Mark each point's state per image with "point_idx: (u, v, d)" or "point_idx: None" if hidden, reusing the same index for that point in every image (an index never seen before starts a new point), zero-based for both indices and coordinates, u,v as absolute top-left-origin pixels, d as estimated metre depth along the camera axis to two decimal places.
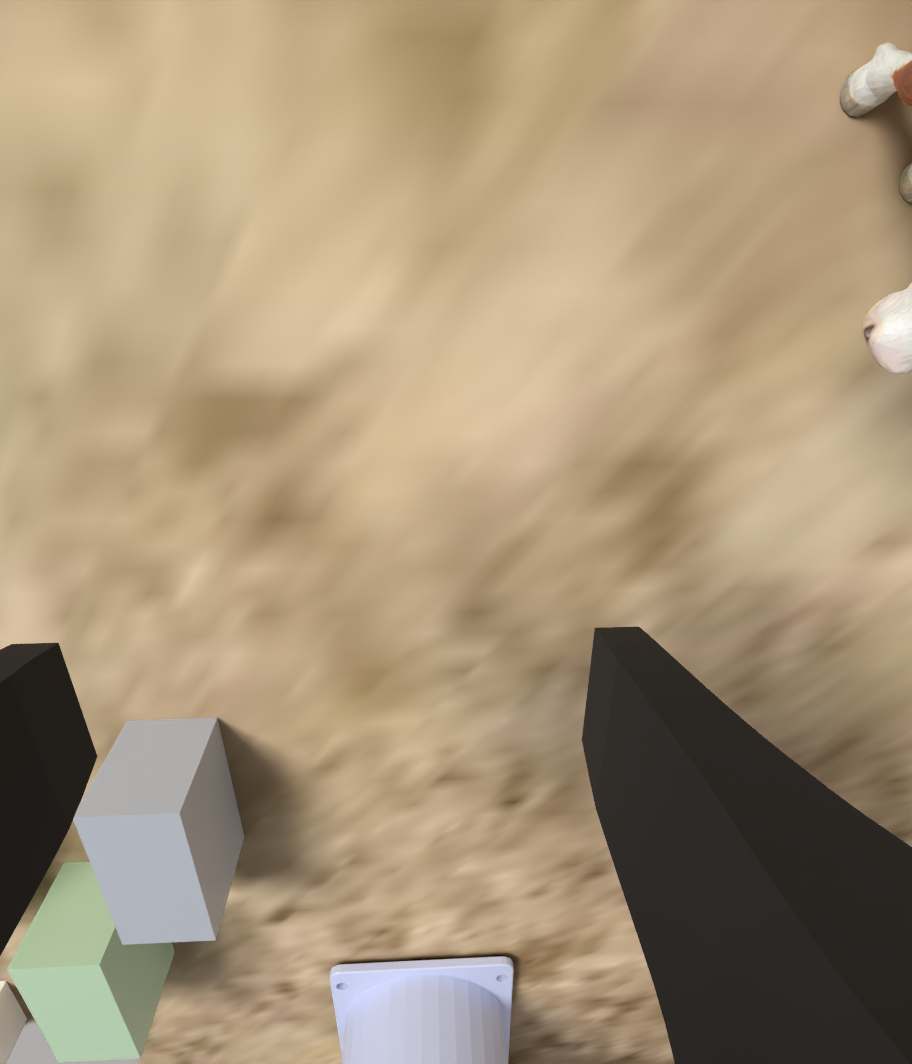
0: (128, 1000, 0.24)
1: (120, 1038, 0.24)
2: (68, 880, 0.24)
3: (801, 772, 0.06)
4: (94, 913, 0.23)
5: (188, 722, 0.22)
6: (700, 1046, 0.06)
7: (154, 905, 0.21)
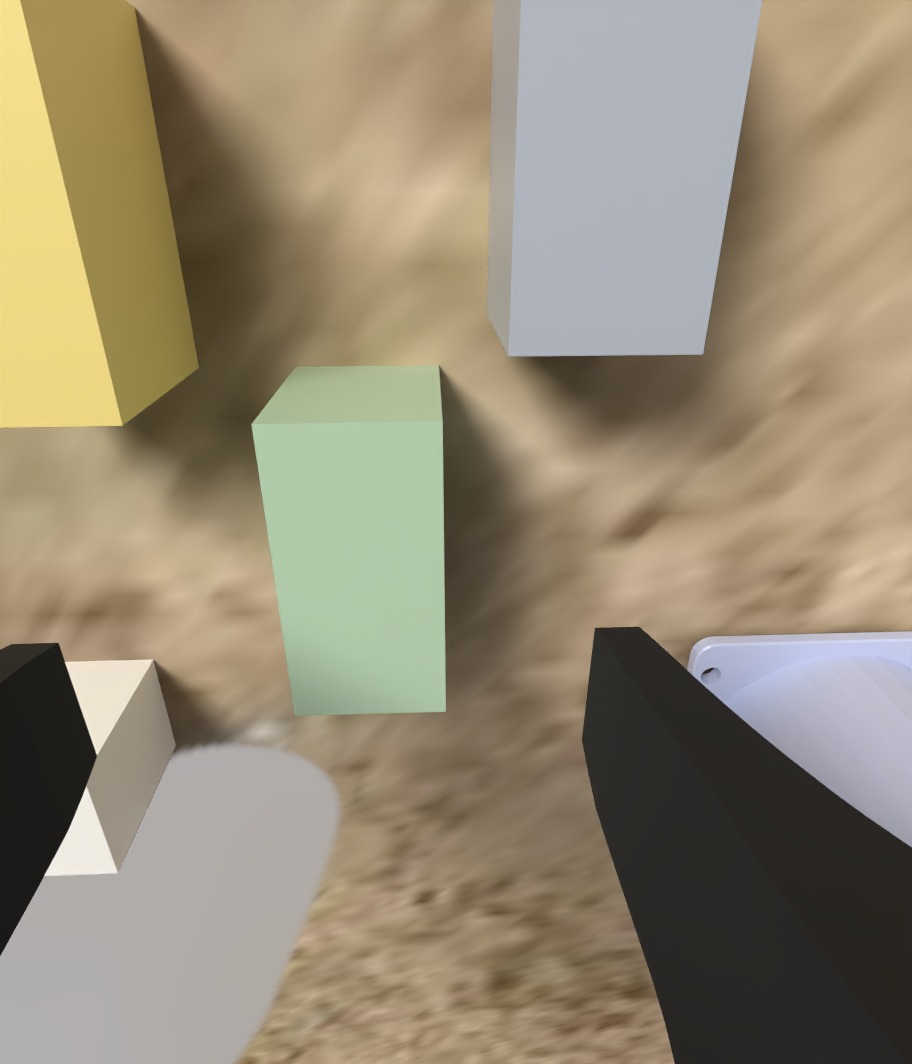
0: None
1: (424, 654, 0.12)
2: (316, 374, 0.13)
3: (801, 772, 0.06)
4: (389, 391, 0.12)
5: None
6: (700, 1046, 0.06)
7: (615, 214, 0.09)
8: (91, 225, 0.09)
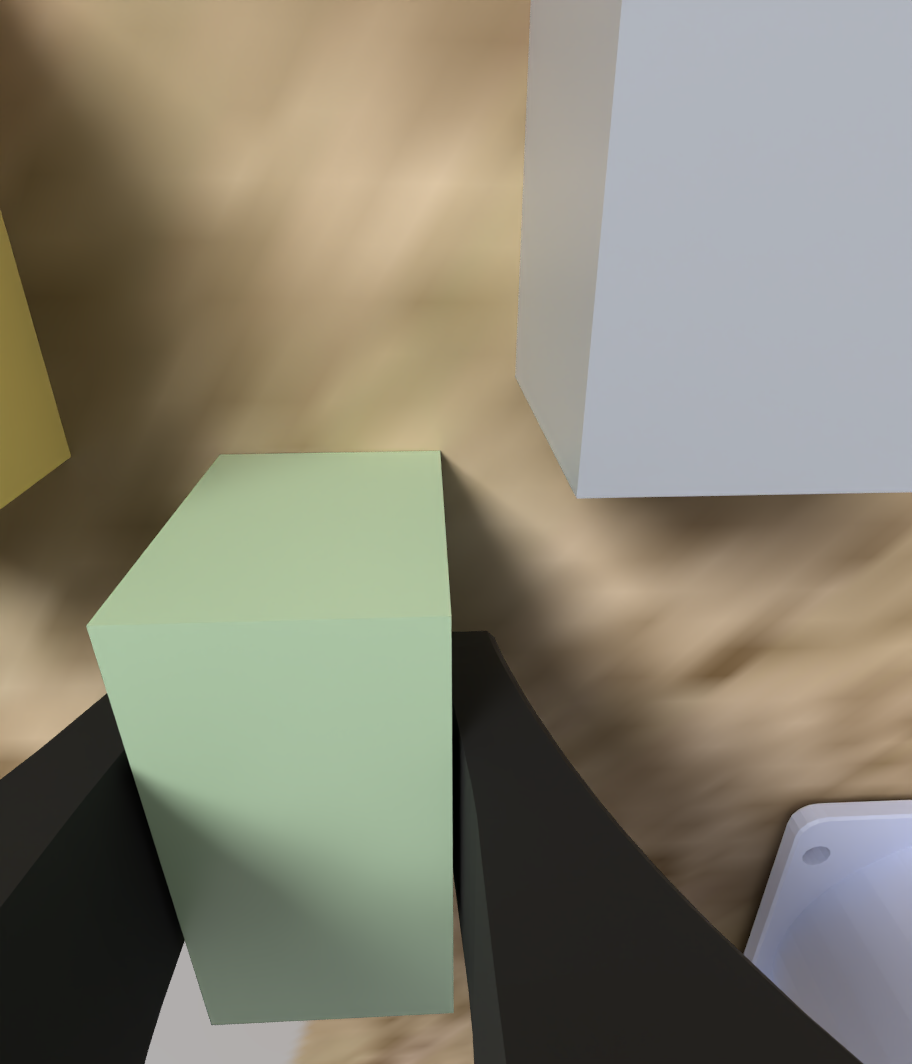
0: None
1: (418, 945, 0.08)
2: (244, 477, 0.08)
3: (572, 781, 0.06)
4: (359, 523, 0.07)
5: None
6: (477, 1058, 0.06)
7: (815, 226, 0.04)
8: None
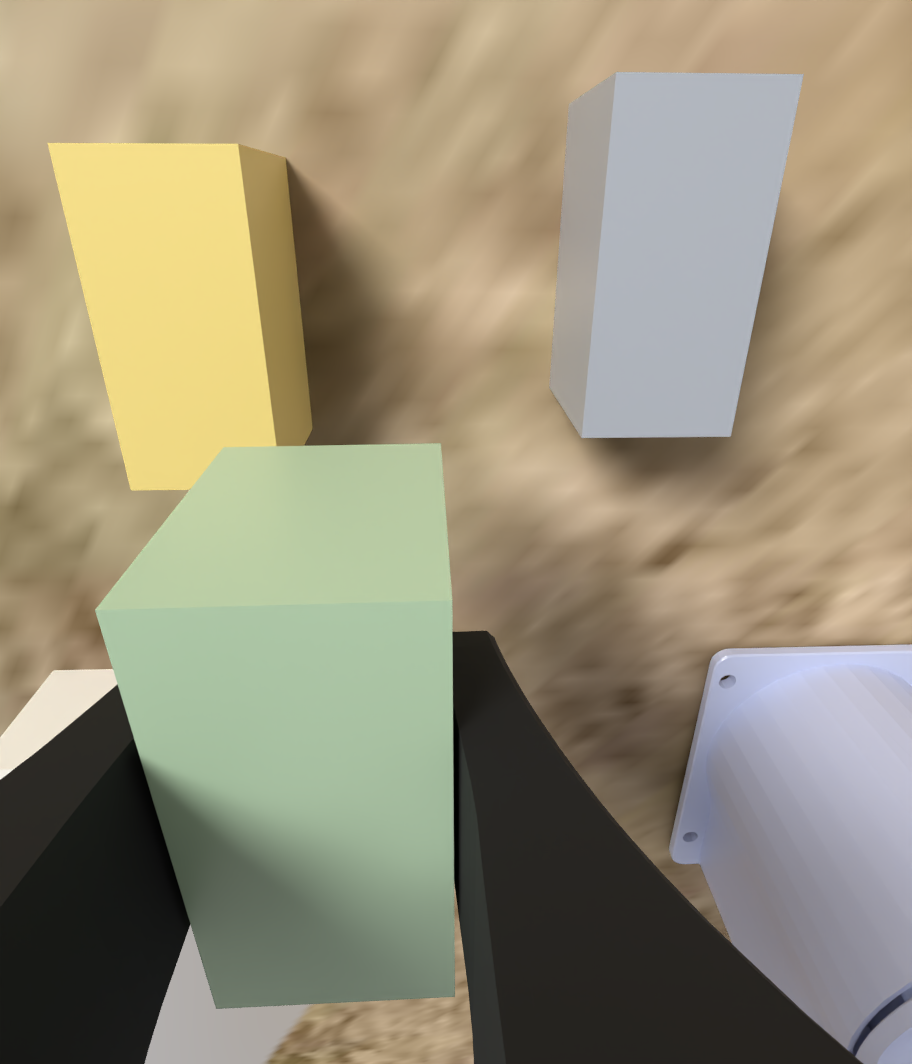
0: None
1: (421, 929, 0.08)
2: (248, 469, 0.08)
3: (572, 781, 0.06)
4: (360, 512, 0.07)
5: None
6: (477, 1058, 0.06)
7: (667, 336, 0.12)
8: (270, 340, 0.12)
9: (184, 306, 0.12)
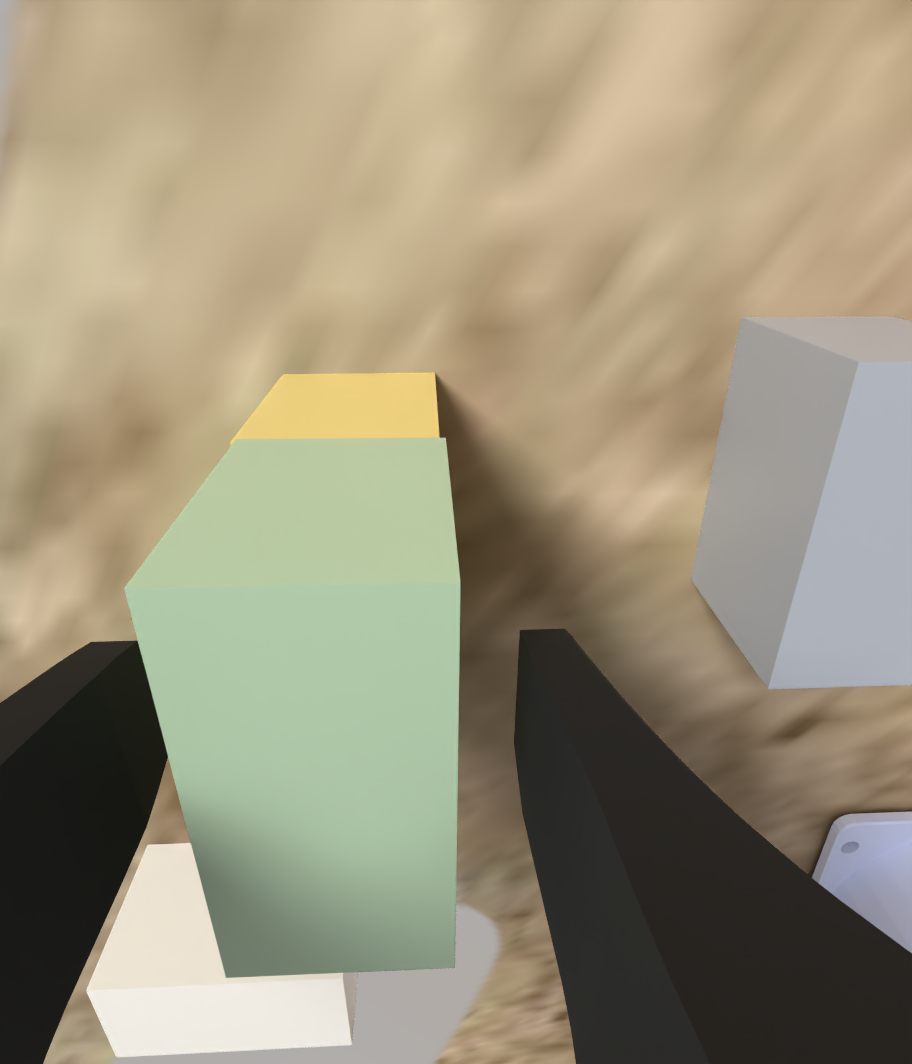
0: None
1: (424, 901, 0.08)
2: (261, 460, 0.09)
3: (689, 776, 0.06)
4: (370, 501, 0.08)
5: (850, 317, 0.13)
6: (591, 1052, 0.06)
7: (874, 598, 0.11)
8: None
9: None
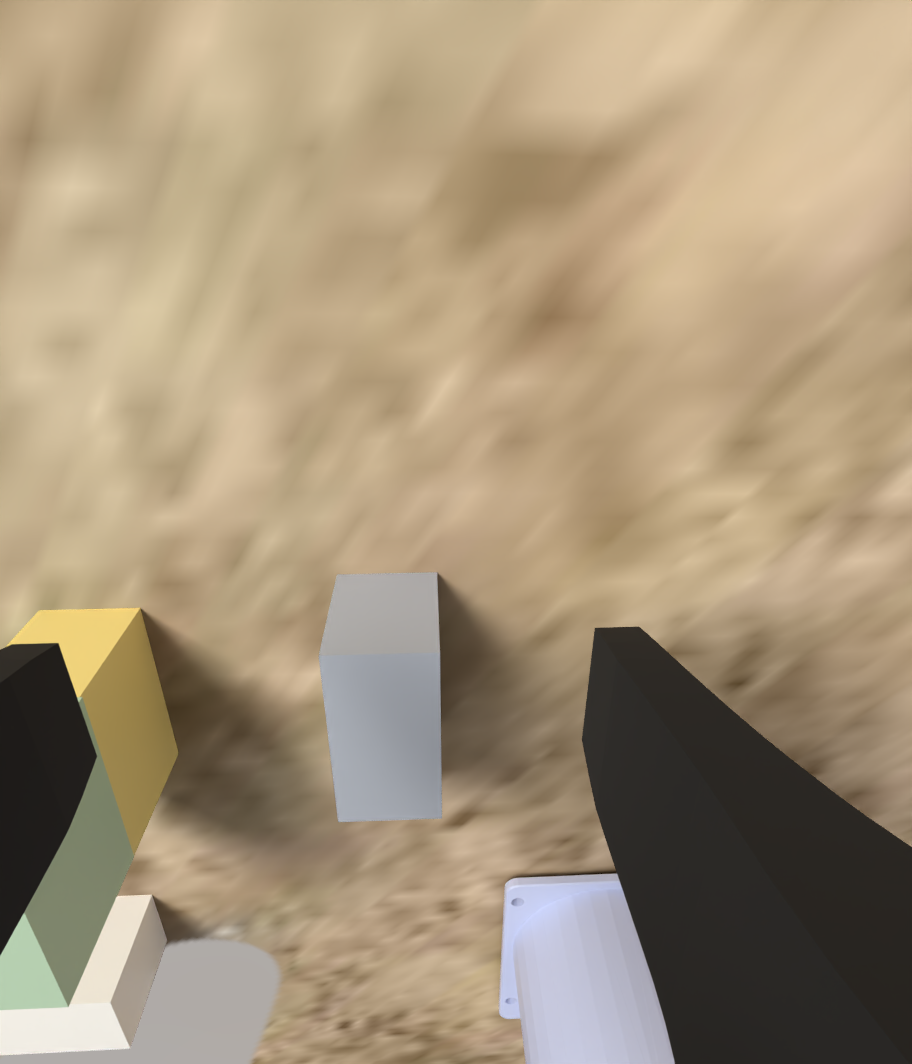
0: (47, 911, 0.15)
1: (34, 972, 0.15)
2: None
3: (801, 772, 0.06)
4: None
5: (406, 576, 0.20)
6: (700, 1046, 0.06)
7: (384, 772, 0.18)
8: (118, 772, 0.18)
9: None
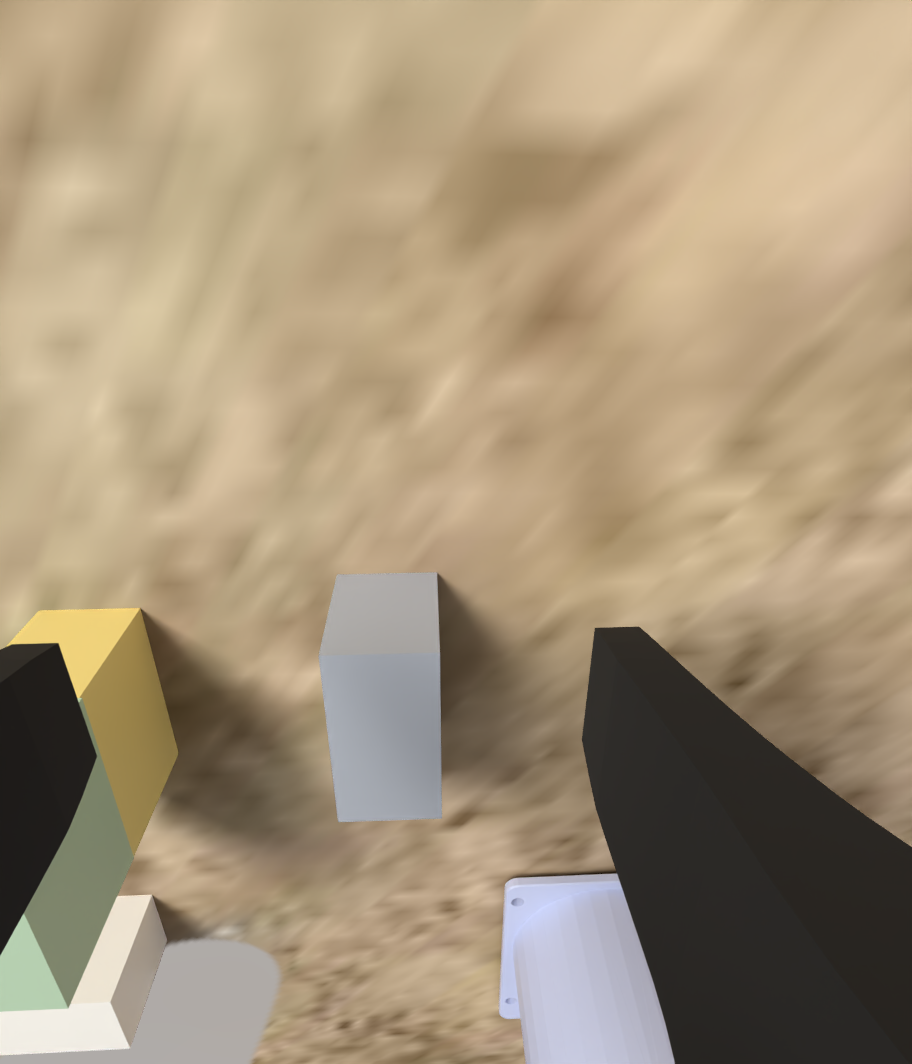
0: (47, 912, 0.15)
1: (34, 974, 0.15)
2: None
3: (801, 772, 0.06)
4: None
5: (406, 576, 0.20)
6: (700, 1046, 0.06)
7: (384, 772, 0.18)
8: (118, 773, 0.18)
9: None
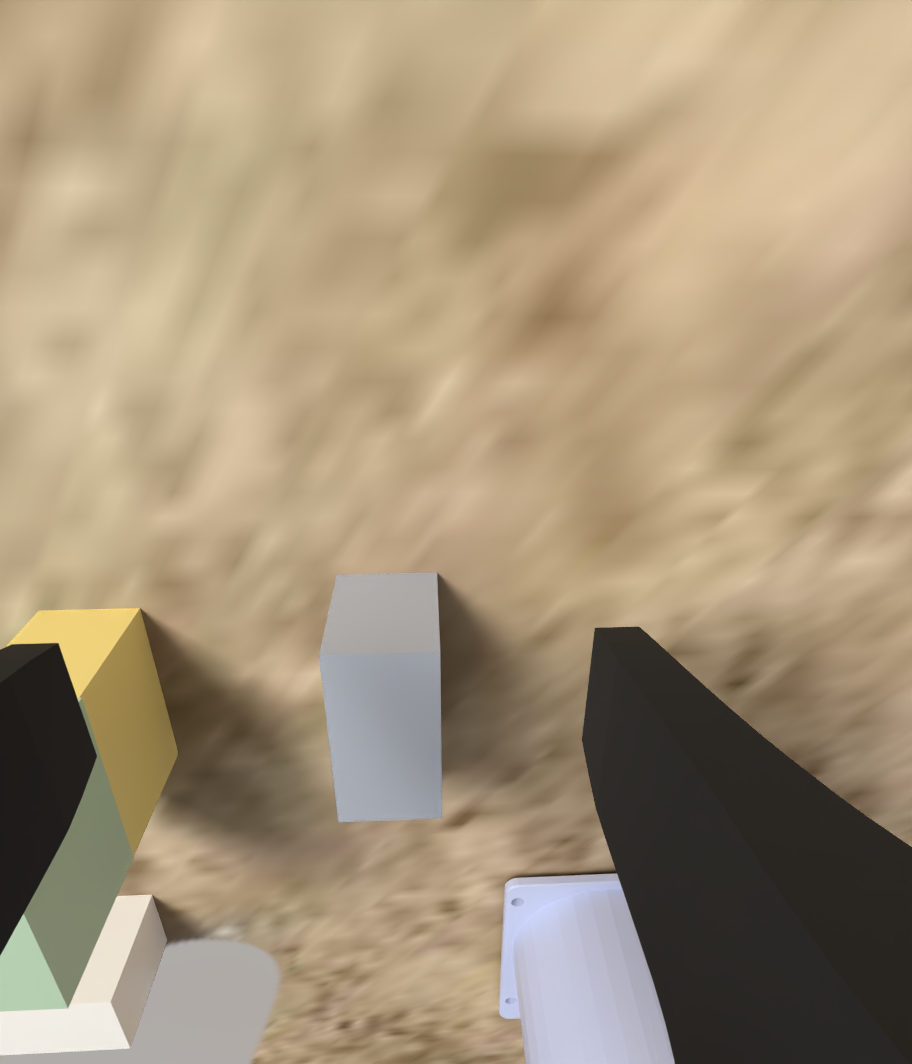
0: (47, 912, 0.15)
1: (33, 973, 0.15)
2: None
3: (801, 772, 0.06)
4: None
5: (406, 576, 0.20)
6: (700, 1046, 0.06)
7: (384, 771, 0.18)
8: (118, 773, 0.18)
9: None
